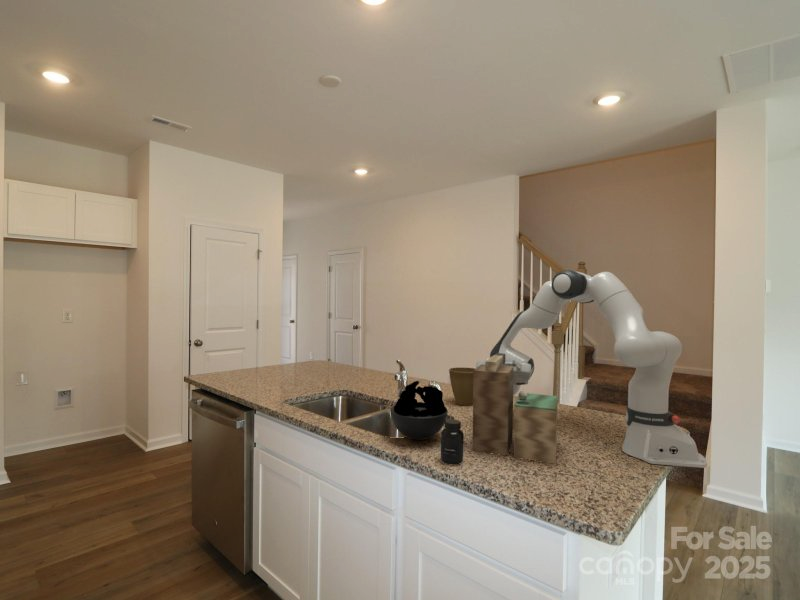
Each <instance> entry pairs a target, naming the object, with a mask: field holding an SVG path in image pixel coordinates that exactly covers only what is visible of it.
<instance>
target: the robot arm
mask: <svg viewBox="0 0 800 600" xmlns="http://www.w3.org/2000/svg"><path fill="white" fill-rule="evenodd" d="M568 302H573V303H574V302H575V303H581V304H590V303H593V302H594V303H595V304H596V306H597V307H598V309H599V310H600V313H601V314H602V315H603V316H604V318H605V319H606V321H607V323H608V324H609V325H610V329H611V330H612V333H613V337H614V340H615V343H614V349H613V350H614V355H615V357H616V359H617V360H618V362H620V363H621V364H622V365H624V366H628V367H632V368H635V372H634V374H633V376H632V378H631V379H630V380H629V382H628V388H627V389H628V390H627V392H628V393H627V394H628V395H627V404H628V405H627V406H626V411H625V423H626V431H625V436H624V440H623V444H622V447H621V451H623V452H624V453H625V454H627V455H629V456H631V457H633V458H637V459H639V460H642V461H644V462H646V463H648V464H653V465H666V466H676V467H687V468H700V469H701V468H702V469H704V468H706V467H707V466H708V461H707V459H706V457H705V456H704V455H703V454H701V453H699V451H698V448H697V443H696V442H695V440H694V439H693V438H692V436H691V435H689V434H688V433H687V432H685V430H683V429H682V428H681V427H680V426H678V425H677V424H679V423H681V419H680V417H679V416H677V415H675V414H674V413H672V412H671V411H669V397H670V395H669V392H670V383H671V380H672V376H673V372H674V369H675V366H676V363H677V361H678V359H679V357H681V355H682V353H683V344H682V343H681V341H680V339H679V338H678V337H677V336H676V335H674V334H671V333H669V332H665V331H661V330H657V331H656V330H655V331H650V330H649V329H648V327H647V325H646V323H645V321H644V320H645V319H644V313H645V312H644V309H643V307H642V306H641V305H640V304H639V302H638V301H637V300H636V298H635V297H634V295H633V294H632V292H631V291H630V289H628V287H627V286H626V285H625V284H624V282H623V281H621V280H620V279H619V278H618V277H617V276H616V275H615V274H614V273H612V272H610V271H601V272H599V273H596V274H595V275H589V274H586V273H584V272H580V271H575V270H572V269H570V270H569V269H566V270H561V271H559V272H557V273H556V274H555V275H554V276H553V278H552V280H548V281H546V282H544V283H543V284H542V285H541V287H540V289H539V290H538V291H537V293H536V295H535V297H534V298H533V301H532V303H531V304H530V306H529V307H528V308H527V309H526V310H523V311H520V312H519V313H518V314H517V315H516V316H515V317H514V319H513V320H512V321H511V322H510V324H509V326H508V327H507V328H506V330H505V331H504V333H503V334H502V336H501V338H500V339H499V340H498V341H497V343H496V344H495V345H494V346H493V348H492V350H491V351H490V352H489V358H491V357H492V356H493V355H495V354H496V353H503V354H505V363H504V364H503V365H502V366H510V367H514V372H513V396H514V395H516V394H518V393H519V392H520V388H521V386H523V385H528V384H529V380H530V379H531V378H532V375H533V374H534V371H535V363H534V360H533V358H532V357H530V356H528V355H526V354H525V353H523V352H520V351H519V350H517V349H515V348H513V347H512V345H511V344H512V342H513V341H514V340H515V338H516V337H517V335H518V333H519V332H520V331H521V330H522V329H534V330H545V329H548V328H551V327H552V326H554V324H555V323H556V322H557V320H558V318H559V316H560V314H561V312H562V310H563V307H564V306H565V304H566V303H568ZM489 358H486V359H485V360H478V361H476V365H475V366H476V367H475V369H476V368H477V367H479V366H480V365H485V361H487V360H488V359H489Z"/></svg>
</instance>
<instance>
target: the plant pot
mask: <svg viewBox="0 0 800 600" xmlns="http://www.w3.org/2000/svg"><path fill="white" fill-rule="evenodd" d="M475 369H476V367H475V368H474V367H459V366H458V367H451V368H449V369H448V372H449V380H450V385H451V390H452V393H453V394H452V395H453V397H454V400H455V402H456V405H458V406H462V407H463V406H464V407H469V406H473V370H475Z"/></svg>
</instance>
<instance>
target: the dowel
mask: <svg viewBox="0 0 800 600" xmlns="http://www.w3.org/2000/svg"><path fill="white" fill-rule="evenodd" d="M487 359H488V360H487V361H486V360H484V361H485V372H496V371H497V370H498V369H499V368H500V367H501V366H502V365H503V364H504V363H505V354H503V353H496V354H495V355H493V356H492V357H491V358H490V357H489V358H487Z"/></svg>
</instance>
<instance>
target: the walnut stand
mask: <svg viewBox="0 0 800 600" xmlns="http://www.w3.org/2000/svg"><path fill="white" fill-rule="evenodd" d="M513 372H514V367H510V366H501V367H500V368H499V369H498V370H497V371H496V372H485V365H480V366H479V367H477V368H476V367H475V370H473V404H472V449H471V451H472V452H475V451H478V452H477V453H482V452H485V453H484V454H489V453H493V454H492V455H495V454H500V455H499V456H502V455H508V456H509V454H510V451H511V448H512V446H513V444H514V395H513ZM511 445H512V446H511ZM509 450H510V451H509ZM508 453H509V454H508Z"/></svg>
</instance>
